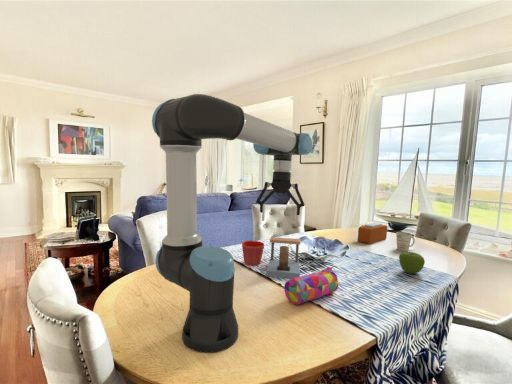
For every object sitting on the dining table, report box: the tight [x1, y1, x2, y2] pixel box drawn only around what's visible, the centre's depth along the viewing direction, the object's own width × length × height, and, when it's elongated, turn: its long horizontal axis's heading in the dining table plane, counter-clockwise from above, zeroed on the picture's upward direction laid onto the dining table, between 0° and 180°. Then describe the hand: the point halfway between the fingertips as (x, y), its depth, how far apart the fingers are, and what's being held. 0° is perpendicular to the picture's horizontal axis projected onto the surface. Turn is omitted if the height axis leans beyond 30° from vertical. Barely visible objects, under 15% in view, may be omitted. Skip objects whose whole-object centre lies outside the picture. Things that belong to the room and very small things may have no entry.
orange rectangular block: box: [357, 222, 388, 245], centre depth 189 cm, size 24×8×11 cm, turn 131°
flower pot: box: [241, 240, 265, 267], centre depth 136 cm, size 11×11×10 cm
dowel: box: [278, 245, 290, 271], centre depth 123 cm, size 4×4×12 cm
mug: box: [395, 231, 416, 252], centre depth 170 cm, size 8×13×10 cm, turn 107°
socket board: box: [265, 236, 301, 280], centre depth 126 cm, size 16×14×13 cm
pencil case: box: [283, 266, 339, 306], centre depth 102 cm, size 22×9×9 cm, turn 130°
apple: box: [398, 251, 426, 275], centre depth 130 cm, size 11×10×10 cm
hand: (279, 221), depth 119 cm, fingers open, 13 cm apart
